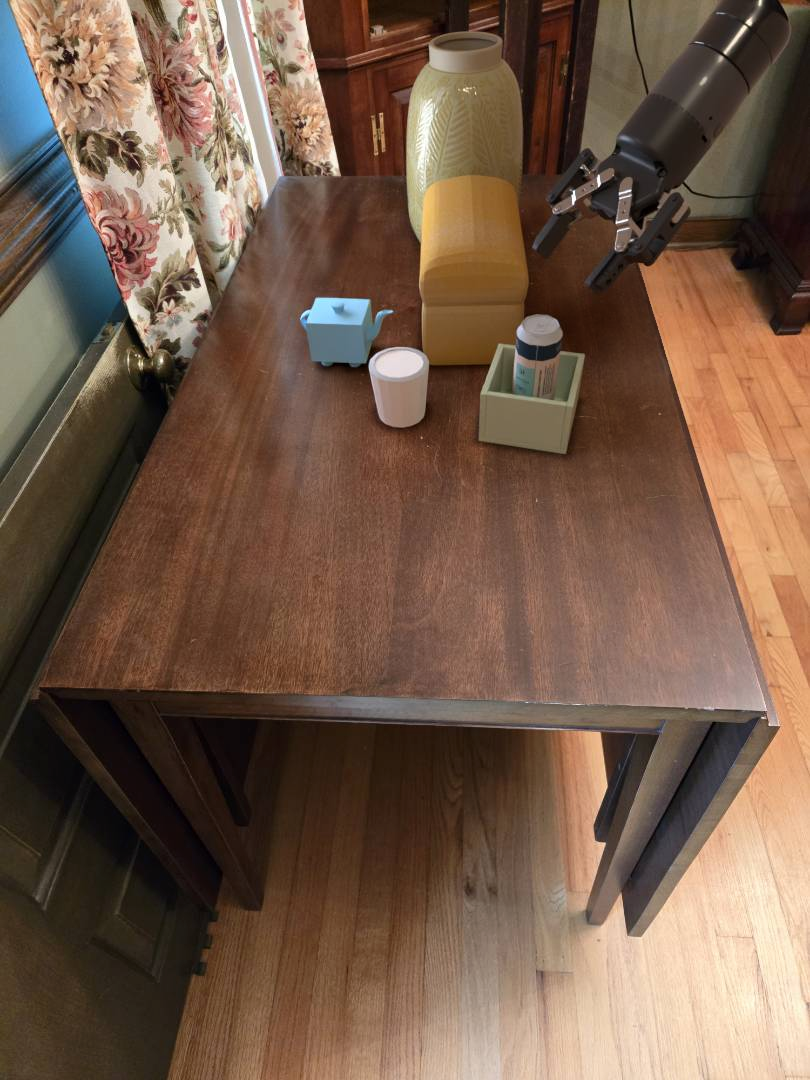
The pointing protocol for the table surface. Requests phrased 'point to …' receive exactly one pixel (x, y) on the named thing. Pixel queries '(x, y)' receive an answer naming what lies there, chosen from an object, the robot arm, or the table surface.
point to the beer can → (537, 357)
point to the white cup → (400, 385)
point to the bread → (471, 270)
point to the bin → (529, 405)
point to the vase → (463, 118)
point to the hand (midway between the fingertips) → (564, 272)
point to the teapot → (341, 330)
